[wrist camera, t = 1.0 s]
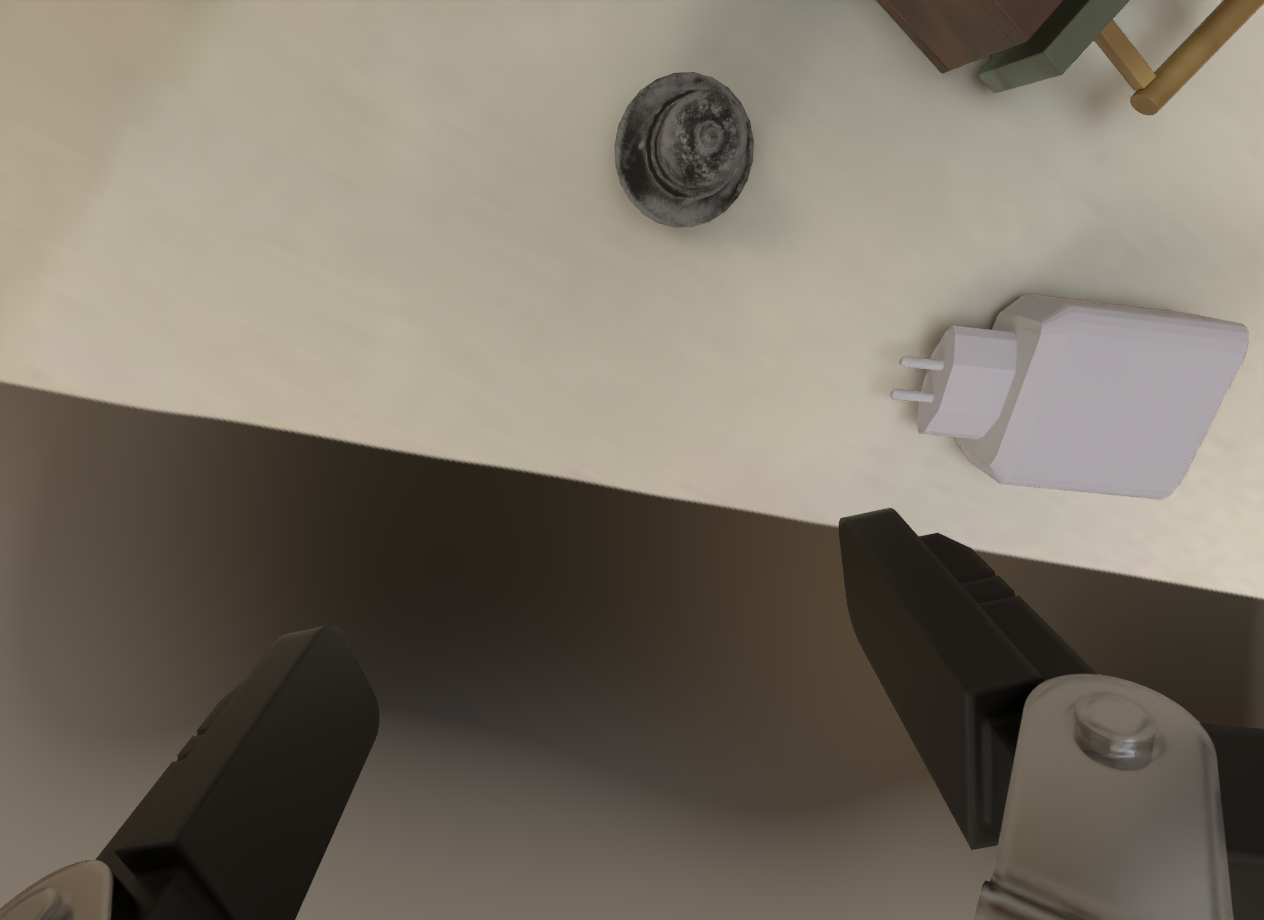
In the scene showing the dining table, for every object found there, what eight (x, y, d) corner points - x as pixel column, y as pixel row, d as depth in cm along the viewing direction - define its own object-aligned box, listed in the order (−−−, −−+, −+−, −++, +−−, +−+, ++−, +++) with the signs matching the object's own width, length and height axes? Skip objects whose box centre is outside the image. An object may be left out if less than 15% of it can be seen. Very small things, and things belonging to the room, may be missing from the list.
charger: (900, 277, 32) (1175, 310, 33) (855, 444, 35) (1104, 469, 36) (946, 290, 27) (1260, 327, 28) (889, 478, 31) (1170, 506, 32)
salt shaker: (764, 142, 29) (852, 109, 18) (687, 249, 31) (726, 277, 20) (664, 56, 28) (695, -37, 17) (590, 173, 30) (574, 159, 19)
